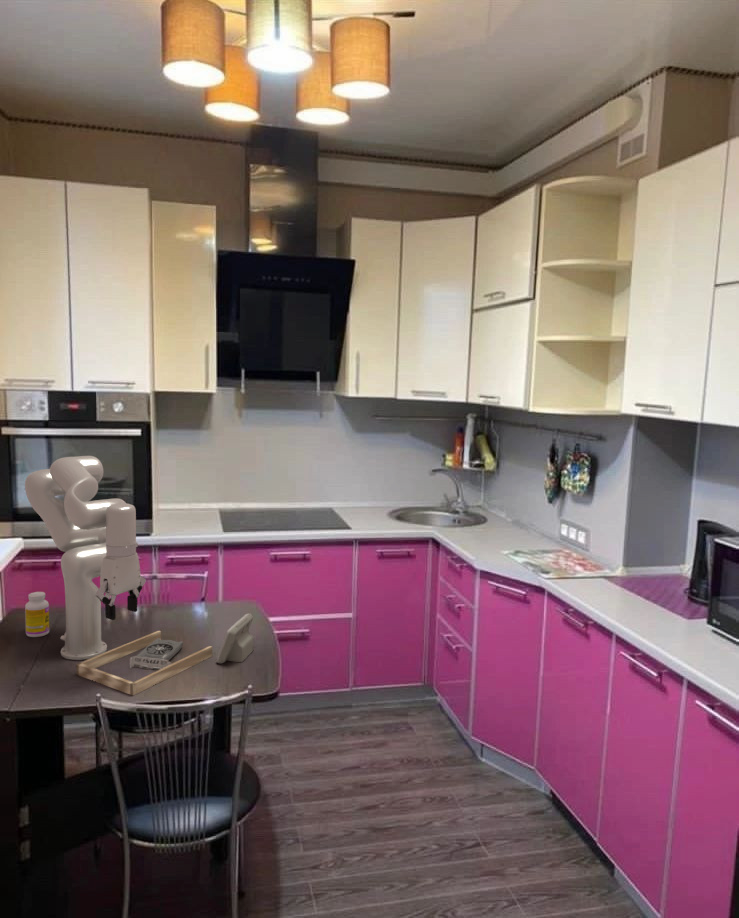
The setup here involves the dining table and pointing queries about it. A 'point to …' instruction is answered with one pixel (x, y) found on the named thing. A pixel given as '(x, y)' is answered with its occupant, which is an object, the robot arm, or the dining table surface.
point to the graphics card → (156, 654)
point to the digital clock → (237, 641)
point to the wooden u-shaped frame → (132, 688)
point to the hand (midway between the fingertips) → (121, 614)
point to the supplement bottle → (37, 615)
